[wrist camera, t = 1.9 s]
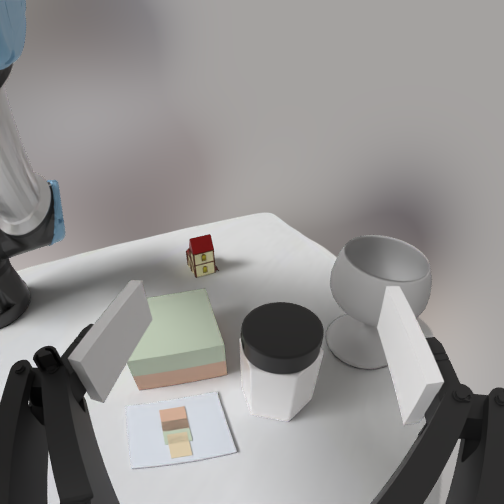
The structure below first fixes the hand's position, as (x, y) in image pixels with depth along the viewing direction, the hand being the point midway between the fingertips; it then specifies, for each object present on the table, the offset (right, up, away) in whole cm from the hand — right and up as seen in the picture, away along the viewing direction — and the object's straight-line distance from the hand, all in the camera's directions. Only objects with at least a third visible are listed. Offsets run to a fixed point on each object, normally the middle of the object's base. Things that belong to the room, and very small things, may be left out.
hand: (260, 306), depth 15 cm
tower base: (-11, -12, +25) cm, 30 cm away
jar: (+3, -15, +19) cm, 24 cm away
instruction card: (-9, -18, +14) cm, 24 cm away
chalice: (+17, -11, +27) cm, 33 cm away
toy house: (-13, -1, +45) cm, 47 cm away
